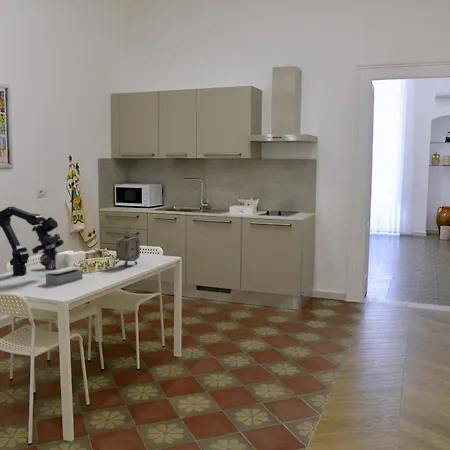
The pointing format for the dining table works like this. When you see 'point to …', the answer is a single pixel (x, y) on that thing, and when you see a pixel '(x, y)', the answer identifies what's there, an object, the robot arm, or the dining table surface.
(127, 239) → the tabletop clock
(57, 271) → the cover
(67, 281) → the grey open box
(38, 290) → the dining table surface
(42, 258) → the decorative flower
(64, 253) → the cable organizer
